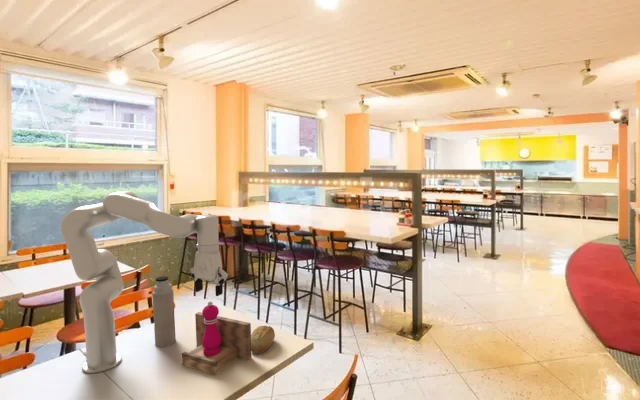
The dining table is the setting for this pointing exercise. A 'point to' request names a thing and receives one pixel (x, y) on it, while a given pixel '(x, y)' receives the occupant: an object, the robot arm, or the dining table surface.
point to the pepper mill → (211, 331)
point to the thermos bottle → (163, 312)
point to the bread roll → (261, 339)
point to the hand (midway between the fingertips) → (209, 292)
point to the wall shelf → (231, 346)
